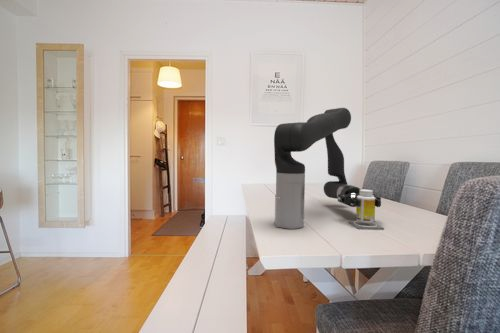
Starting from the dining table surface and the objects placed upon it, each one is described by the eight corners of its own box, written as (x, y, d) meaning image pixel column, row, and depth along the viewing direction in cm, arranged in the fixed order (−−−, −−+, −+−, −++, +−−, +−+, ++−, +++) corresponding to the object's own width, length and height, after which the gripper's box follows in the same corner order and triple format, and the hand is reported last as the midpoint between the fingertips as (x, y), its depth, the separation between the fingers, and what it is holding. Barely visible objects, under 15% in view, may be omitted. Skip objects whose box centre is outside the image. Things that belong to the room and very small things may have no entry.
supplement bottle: (377, 221, 82) (378, 190, 82) (369, 224, 79) (370, 192, 78) (361, 217, 87) (362, 188, 86) (352, 220, 83) (353, 189, 83)
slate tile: (357, 229, 79) (357, 226, 79) (348, 222, 87) (348, 220, 87) (383, 229, 79) (383, 227, 79) (371, 222, 87) (371, 220, 87)
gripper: (331, 185, 97) (347, 191, 80) (368, 185, 96) (392, 192, 80) (330, 204, 97) (346, 215, 80) (368, 205, 97) (391, 215, 80)
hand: (369, 203), depth 80 cm, fingers open, 5 cm apart
